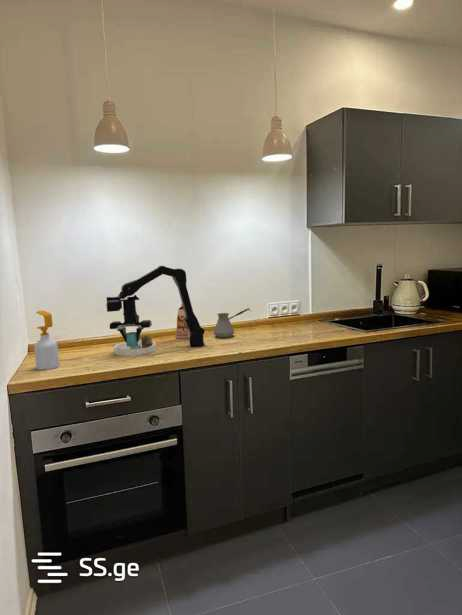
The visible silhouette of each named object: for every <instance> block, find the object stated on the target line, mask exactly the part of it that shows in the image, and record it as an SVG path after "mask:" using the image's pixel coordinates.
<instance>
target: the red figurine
mask: <svg viewBox="0 0 462 615" xmlns="http://www.w3.org/2000/svg"><path fill="white" fill-rule="evenodd" d="M183 318H185V312H184V308H183V305H182V303H181V306H179V308H178V309H177V316H176V328H175V329H176V331H175V336H174V337H175V338H174V339H175V340H174V342H190V339H189V337H190V334H191V332H190V331H189V330H188V329H187V328H186V327H185V326H184V321H183Z"/></svg>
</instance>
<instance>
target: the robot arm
mask: <svg viewBox="0 0 462 615" xmlns="http://www.w3.org/2000/svg"><path fill="white" fill-rule="evenodd" d="M162 275H164V276H169V277H171V278H172V280H173V282H174V284H175V286H176V287H177V290H178V294H179V298H180V300H181V304H182V305H183V308H184V312H185V318H183V321H184V326H185V327H186V328H187V329H188V330H189V331H190V332H191V334H190V337H189V339H190V341H189V346H190V347H192V348H196V347H204V345H205V342H204V339H205V338H204V334H205V332H206V330H205V329H204V328H203V327H202V326H201V325H200V321H199V320H198V318H197V316H196V315H195V312H194V309H193V306H192V303H191V298H190V294H189V292H188V288H187V281H188V280H187V273H186V271H185V270H184V269H182V268H172V267H167V266H164V265H158V267H156V268H154V269H153V270H151V271H150V272H148V273H146V274H144V275H142V276H140V277H139V278H137V279H135V280H131V281H128V282H125V283H123V284H122V286H121V287H120V288H121V289H120V290H121V291H120V292H119V294H118V295H117V296H107V297H105V298H106V305H105V306H106V312H107V313H108V312H110V313H111V312H120V311H121V310H122V309H123V313H122V315H123V322H121V321H120V320H119V321H118V320H116V321H112V322H110V323H109V329H110V330H116V332H117V331H118V333H120V334H121V336H122V338H123V340H124V342H126V343H127V340H126V333H127V327H137V328H136V330H135V332H136V335H137V342H138V341H140V338H141V333H142V332H143V330H144V329H146V328H147V329H149V328H150V327H152V323H153V322H152V320H150V319H144V320H141V321H140V315H138V314H137V307H136V301H139V300H140V298H139V297H138V296H137V295H136V294H135V293H137V292H138V291H139V290H140V289H141V288H142V287H144V286H145V285H147V284H148V283H151V282H152V281H154V280H156V279H157V278H159V277H160V276H162ZM182 305H181V306H182Z"/></svg>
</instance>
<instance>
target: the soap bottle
mask: <svg viewBox="0 0 462 615" xmlns="http://www.w3.org/2000/svg"><path fill="white" fill-rule="evenodd" d="M36 314H38V315H41V316H43V319H44V325H42V326H41V325H40V326H37V327H36V329H37V330H38V329H40V331H41V333H39V334H40V339H39V340H38V341H36V343H35V344H34V345H33V346H34V347H33V348H34V349H33V350H34V357H35V358H34V359H35V367H36V370H39V371H49V370H53V369H56V368H58V367H59V366H60V358H59V357H60V356H59V349H58V348H59V347H58V346H59V344H58V342H57V341H56V340H54V339H52V338H50V333H49V332H47V331H48V329H49V328H52V327H53V316H52V313H51V312H48V311H46V310H38V311H36Z"/></svg>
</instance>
